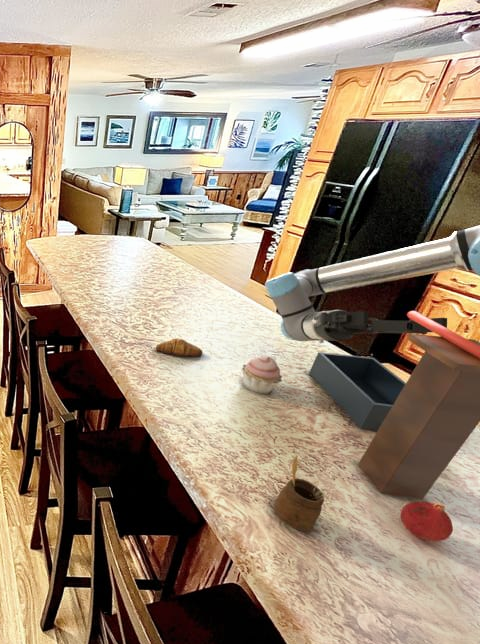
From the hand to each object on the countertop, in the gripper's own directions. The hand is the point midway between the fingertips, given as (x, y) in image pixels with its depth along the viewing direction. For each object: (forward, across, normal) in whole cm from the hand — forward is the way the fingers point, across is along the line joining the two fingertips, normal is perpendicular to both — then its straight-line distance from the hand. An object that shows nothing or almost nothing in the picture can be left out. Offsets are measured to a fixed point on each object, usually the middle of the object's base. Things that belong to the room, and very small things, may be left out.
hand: (405, 321), depth 76 cm
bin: (-26, -11, -19) cm, 34 cm away
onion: (+8, +3, -38) cm, 39 cm away
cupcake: (-27, +13, -18) cm, 35 cm away
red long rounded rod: (+8, 0, -4) cm, 9 cm away
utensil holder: (+8, +23, -38) cm, 45 cm away
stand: (-3, 0, -32) cm, 32 cm away
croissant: (-39, +30, -11) cm, 51 cm away
